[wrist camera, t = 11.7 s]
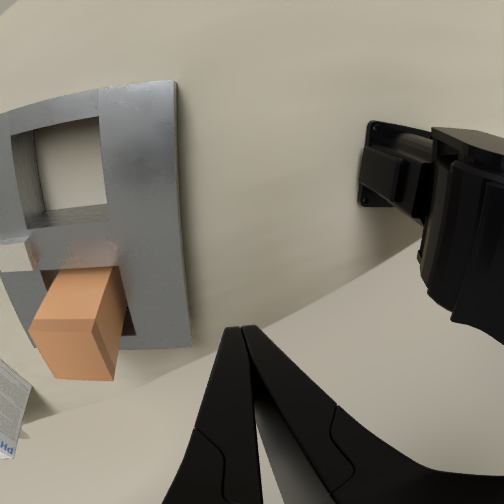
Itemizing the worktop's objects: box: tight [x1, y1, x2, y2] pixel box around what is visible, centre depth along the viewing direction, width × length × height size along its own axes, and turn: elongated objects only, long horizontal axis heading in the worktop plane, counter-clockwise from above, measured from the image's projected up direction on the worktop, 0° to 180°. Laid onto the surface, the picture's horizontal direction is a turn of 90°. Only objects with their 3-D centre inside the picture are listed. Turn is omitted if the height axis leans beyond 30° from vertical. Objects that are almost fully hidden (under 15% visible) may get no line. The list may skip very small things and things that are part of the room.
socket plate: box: [0, 80, 192, 350], centre depth 17 cm, size 14×18×4 cm
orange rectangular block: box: [28, 266, 128, 381], centre depth 17 cm, size 4×4×8 cm
